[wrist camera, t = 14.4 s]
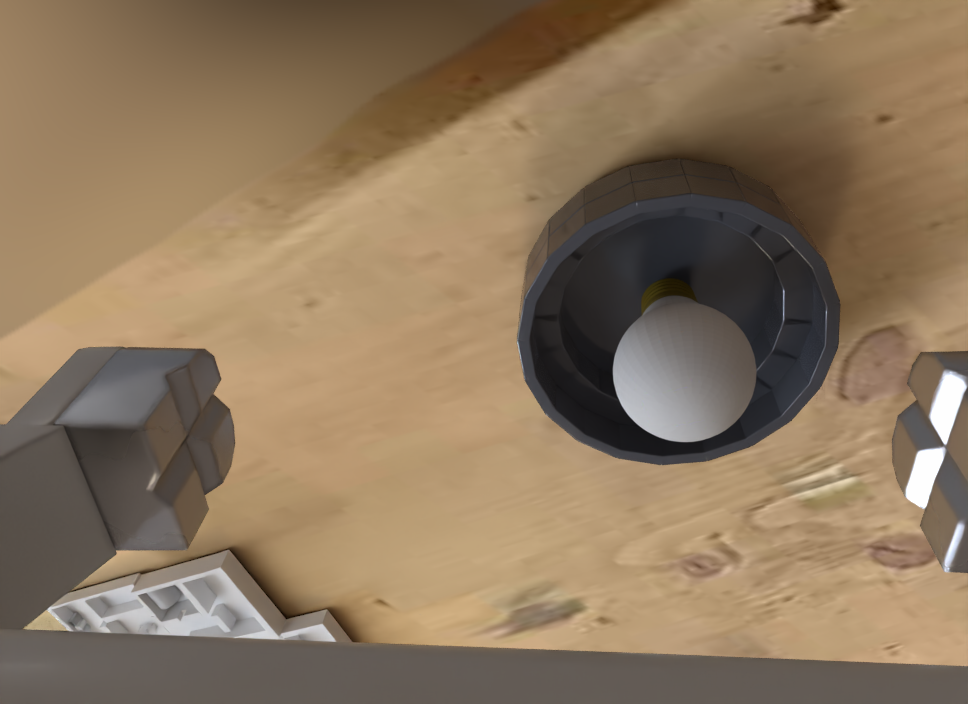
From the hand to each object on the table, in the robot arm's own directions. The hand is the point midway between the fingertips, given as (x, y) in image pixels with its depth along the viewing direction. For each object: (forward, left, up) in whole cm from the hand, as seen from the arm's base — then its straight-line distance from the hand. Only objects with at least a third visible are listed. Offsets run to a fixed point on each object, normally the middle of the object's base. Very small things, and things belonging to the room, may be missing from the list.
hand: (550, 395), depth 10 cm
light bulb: (+11, -10, -28) cm, 32 cm away
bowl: (+11, -10, -29) cm, 32 cm away
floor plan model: (+1, -48, -29) cm, 56 cm away
